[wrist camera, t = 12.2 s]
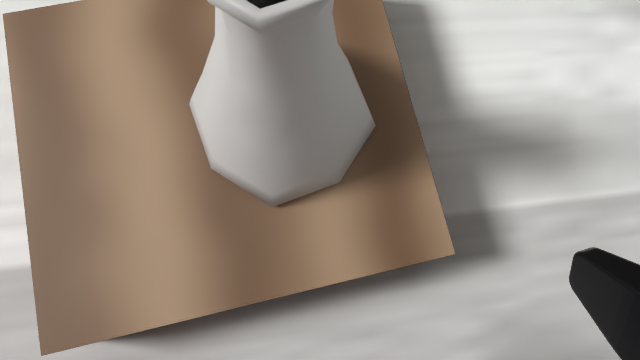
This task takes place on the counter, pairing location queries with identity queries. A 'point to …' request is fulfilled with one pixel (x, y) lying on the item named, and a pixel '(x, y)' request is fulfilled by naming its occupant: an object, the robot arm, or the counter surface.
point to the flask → (279, 99)
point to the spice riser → (190, 175)
